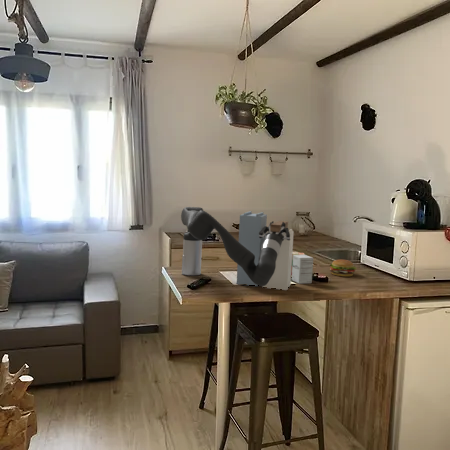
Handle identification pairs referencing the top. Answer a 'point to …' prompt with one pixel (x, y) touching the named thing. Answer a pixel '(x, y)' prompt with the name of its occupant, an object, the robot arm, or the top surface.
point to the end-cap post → (283, 265)
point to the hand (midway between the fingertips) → (278, 223)
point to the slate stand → (250, 240)
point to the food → (342, 268)
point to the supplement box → (302, 269)
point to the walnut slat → (278, 226)
